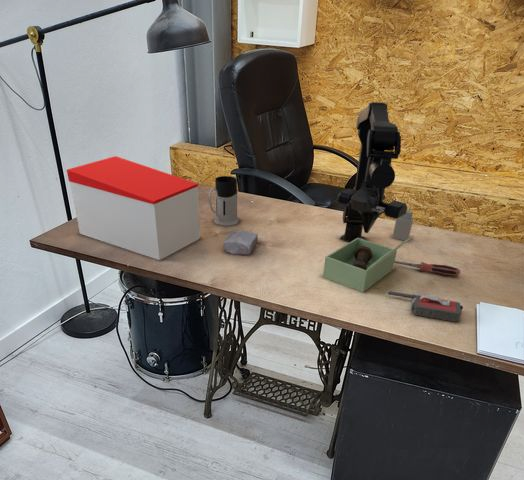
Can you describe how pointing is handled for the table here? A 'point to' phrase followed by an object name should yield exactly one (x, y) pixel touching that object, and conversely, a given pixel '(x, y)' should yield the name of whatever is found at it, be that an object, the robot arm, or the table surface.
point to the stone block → (240, 242)
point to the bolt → (362, 257)
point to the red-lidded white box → (135, 206)
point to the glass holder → (225, 200)
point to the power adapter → (403, 226)
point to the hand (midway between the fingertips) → (366, 232)
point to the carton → (354, 277)
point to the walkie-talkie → (433, 306)
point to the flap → (390, 252)
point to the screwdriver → (434, 268)
